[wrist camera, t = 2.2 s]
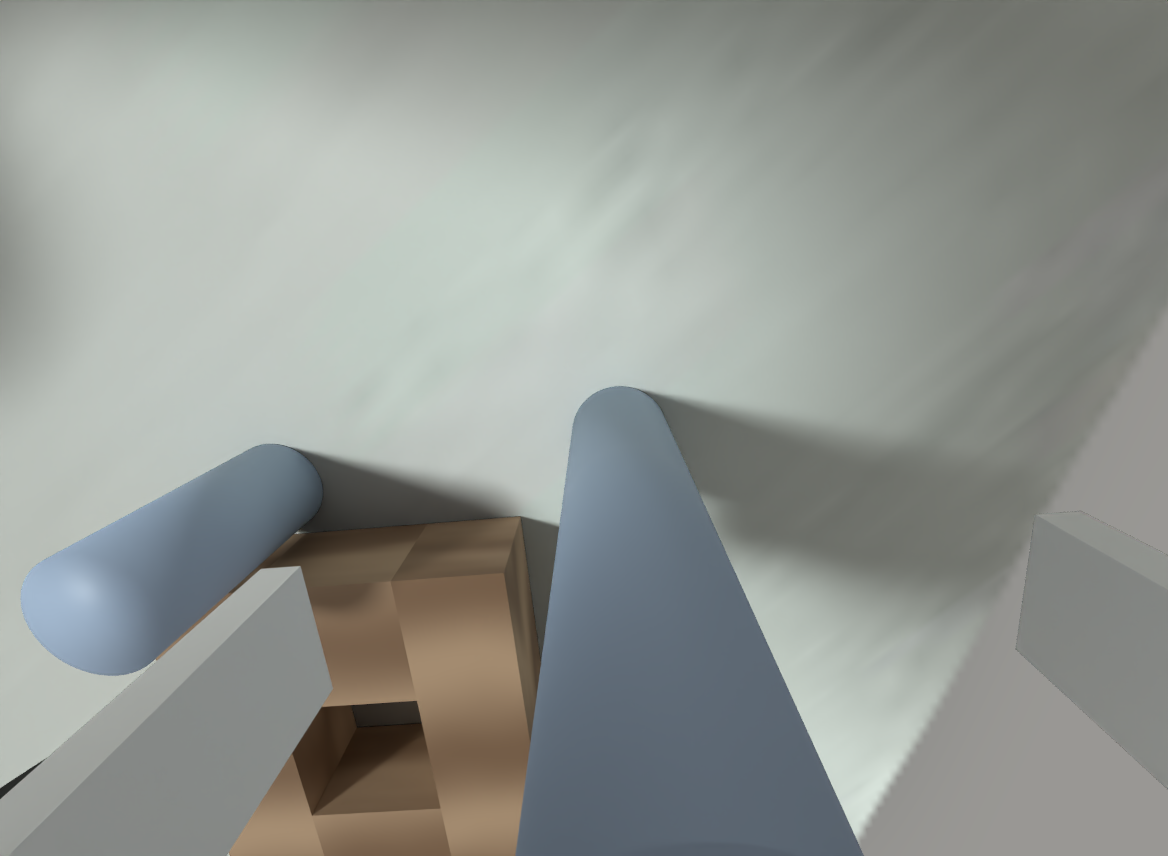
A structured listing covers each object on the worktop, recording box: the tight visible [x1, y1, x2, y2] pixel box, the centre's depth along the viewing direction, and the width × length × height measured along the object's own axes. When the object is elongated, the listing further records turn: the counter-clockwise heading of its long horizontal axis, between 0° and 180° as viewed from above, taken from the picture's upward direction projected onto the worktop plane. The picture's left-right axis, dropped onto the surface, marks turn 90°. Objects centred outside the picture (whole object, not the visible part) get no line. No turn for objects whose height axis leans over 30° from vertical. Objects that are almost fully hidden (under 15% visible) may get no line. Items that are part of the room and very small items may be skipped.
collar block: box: [156, 516, 541, 856], centre depth 21 cm, size 14×12×4 cm
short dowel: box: [21, 444, 323, 676], centre depth 17 cm, size 3×3×8 cm
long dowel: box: [515, 386, 864, 856], centre depth 12 cm, size 3×3×16 cm
